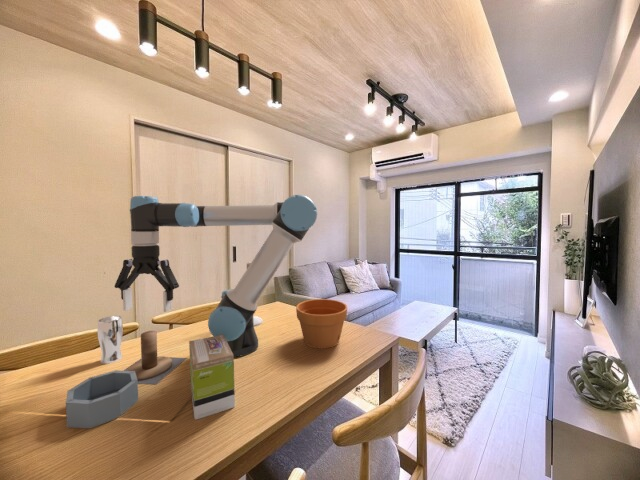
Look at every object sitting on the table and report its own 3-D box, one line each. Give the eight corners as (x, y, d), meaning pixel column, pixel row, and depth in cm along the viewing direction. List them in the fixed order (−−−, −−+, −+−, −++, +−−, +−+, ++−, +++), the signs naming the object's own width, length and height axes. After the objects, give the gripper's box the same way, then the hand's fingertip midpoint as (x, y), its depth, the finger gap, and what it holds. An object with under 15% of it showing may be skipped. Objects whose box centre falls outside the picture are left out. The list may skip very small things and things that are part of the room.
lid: (180, 359, 94) (179, 326, 93) (154, 381, 81) (153, 342, 80) (145, 358, 94) (144, 325, 94) (114, 379, 82) (113, 341, 81)
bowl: (149, 392, 76) (148, 371, 76) (106, 429, 62) (105, 404, 62) (103, 389, 77) (102, 369, 77) (51, 426, 63) (49, 401, 63)
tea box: (189, 388, 78) (188, 339, 77) (225, 379, 83) (224, 332, 82) (193, 422, 65) (192, 362, 64) (235, 408, 70) (235, 353, 69)
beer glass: (110, 366, 90) (108, 323, 89) (93, 364, 91) (91, 321, 90) (128, 356, 97) (127, 316, 96) (112, 354, 98) (111, 314, 97)
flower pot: (332, 358, 96) (332, 317, 95) (285, 345, 106) (285, 308, 106) (354, 337, 114) (355, 303, 114) (313, 327, 125) (313, 296, 124)
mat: (187, 359, 95) (187, 357, 95) (156, 385, 79) (156, 384, 79) (144, 357, 96) (144, 356, 96) (105, 383, 80) (105, 382, 80)
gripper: (189, 244, 88) (190, 307, 89) (118, 243, 90) (121, 305, 91) (175, 246, 81) (177, 314, 82) (98, 245, 83) (101, 312, 84)
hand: (147, 309), depth 86 cm, fingers open, 13 cm apart
